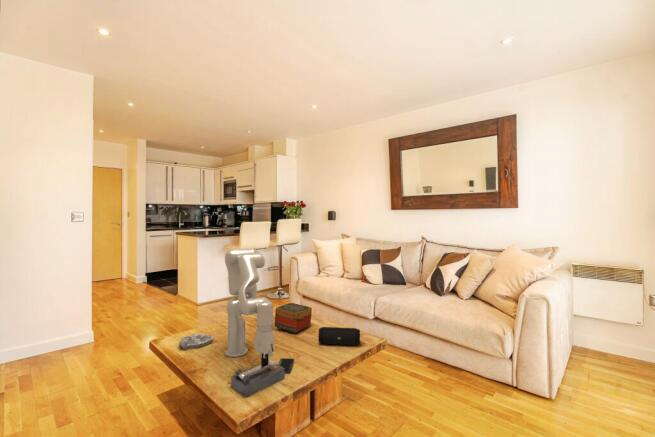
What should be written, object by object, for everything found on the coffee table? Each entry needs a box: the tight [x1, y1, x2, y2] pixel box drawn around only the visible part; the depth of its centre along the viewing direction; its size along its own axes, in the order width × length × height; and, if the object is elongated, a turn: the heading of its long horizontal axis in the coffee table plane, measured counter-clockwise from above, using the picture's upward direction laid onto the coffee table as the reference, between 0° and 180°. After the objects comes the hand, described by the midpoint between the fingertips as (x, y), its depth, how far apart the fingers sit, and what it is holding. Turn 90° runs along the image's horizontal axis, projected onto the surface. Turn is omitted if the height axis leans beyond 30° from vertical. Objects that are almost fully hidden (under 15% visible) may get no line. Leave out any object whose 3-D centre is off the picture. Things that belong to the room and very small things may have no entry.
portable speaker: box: [318, 326, 361, 346], centre depth 192 cm, size 26×10×10 cm, turn 86°
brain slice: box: [178, 333, 214, 350], centre depth 189 cm, size 20×17×3 cm
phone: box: [278, 357, 295, 375], centre depth 162 cm, size 8×1×15 cm
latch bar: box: [237, 359, 277, 380], centre depth 145 cm, size 18×5×2 cm, turn 138°
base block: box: [230, 363, 286, 398], centre depth 146 cm, size 22×12×8 cm, turn 138°
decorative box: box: [273, 302, 313, 334], centre depth 216 cm, size 20×22×16 cm
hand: (264, 365), depth 148 cm, fingers closed
